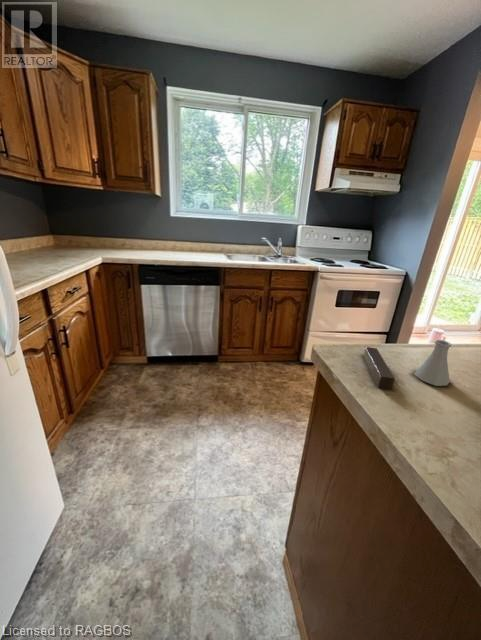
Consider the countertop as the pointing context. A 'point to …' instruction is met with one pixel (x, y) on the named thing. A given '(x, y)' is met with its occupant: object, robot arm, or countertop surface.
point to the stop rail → (378, 368)
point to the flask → (436, 365)
